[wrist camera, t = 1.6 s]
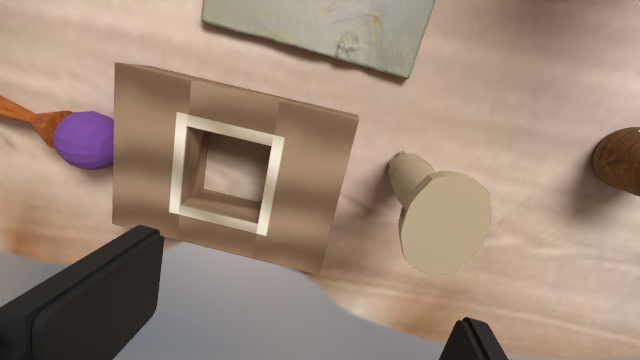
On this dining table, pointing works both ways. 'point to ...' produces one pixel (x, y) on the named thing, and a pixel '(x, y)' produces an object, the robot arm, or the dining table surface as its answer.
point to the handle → (438, 215)
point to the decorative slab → (333, 27)
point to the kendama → (70, 133)
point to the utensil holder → (620, 160)
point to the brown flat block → (191, 154)
